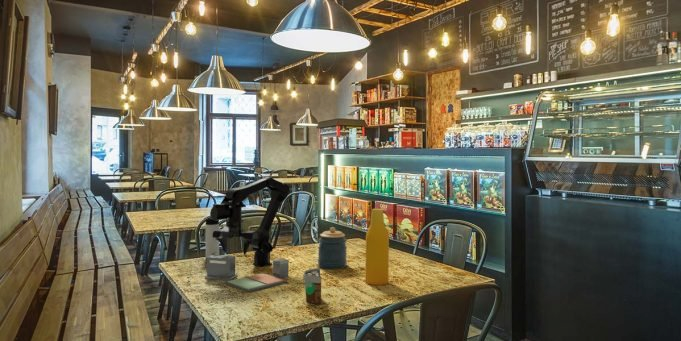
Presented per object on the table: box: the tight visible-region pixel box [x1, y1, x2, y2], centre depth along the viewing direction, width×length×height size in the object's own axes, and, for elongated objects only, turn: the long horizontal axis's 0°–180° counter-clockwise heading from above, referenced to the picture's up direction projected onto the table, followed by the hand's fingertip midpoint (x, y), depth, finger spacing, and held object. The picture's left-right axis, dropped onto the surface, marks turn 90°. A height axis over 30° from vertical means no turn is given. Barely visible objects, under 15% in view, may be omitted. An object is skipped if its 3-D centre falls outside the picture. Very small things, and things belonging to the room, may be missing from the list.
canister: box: [317, 226, 348, 270], centre depth 210 cm, size 13×13×18 cm
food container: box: [302, 267, 322, 306], centre depth 161 cm, size 12×6×10 cm, turn 5°
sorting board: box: [224, 272, 288, 293], centre depth 182 cm, size 18×16×1 cm
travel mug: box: [205, 217, 220, 260], centre depth 223 cm, size 6×7×20 cm
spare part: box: [272, 257, 290, 279], centre depth 192 cm, size 5×5×7 cm
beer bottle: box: [364, 208, 390, 286], centre depth 184 cm, size 9×9×29 cm
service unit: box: [204, 254, 239, 281], centre depth 190 cm, size 7×11×8 cm, turn 76°
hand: (234, 254), depth 201 cm, fingers open, 9 cm apart
